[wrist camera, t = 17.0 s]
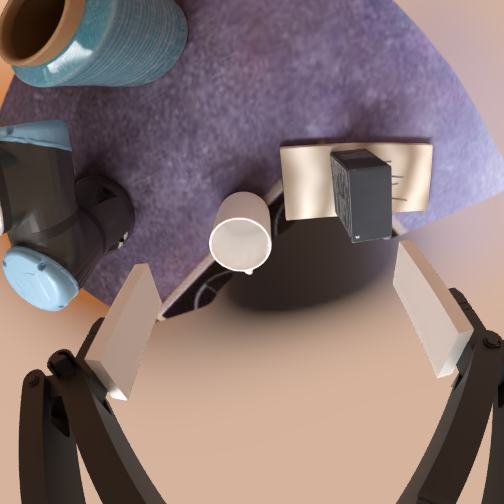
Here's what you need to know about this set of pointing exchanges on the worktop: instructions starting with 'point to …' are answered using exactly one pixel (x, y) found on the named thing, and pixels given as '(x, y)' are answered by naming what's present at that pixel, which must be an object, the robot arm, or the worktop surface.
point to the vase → (92, 41)
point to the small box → (362, 194)
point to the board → (321, 184)
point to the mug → (241, 232)
